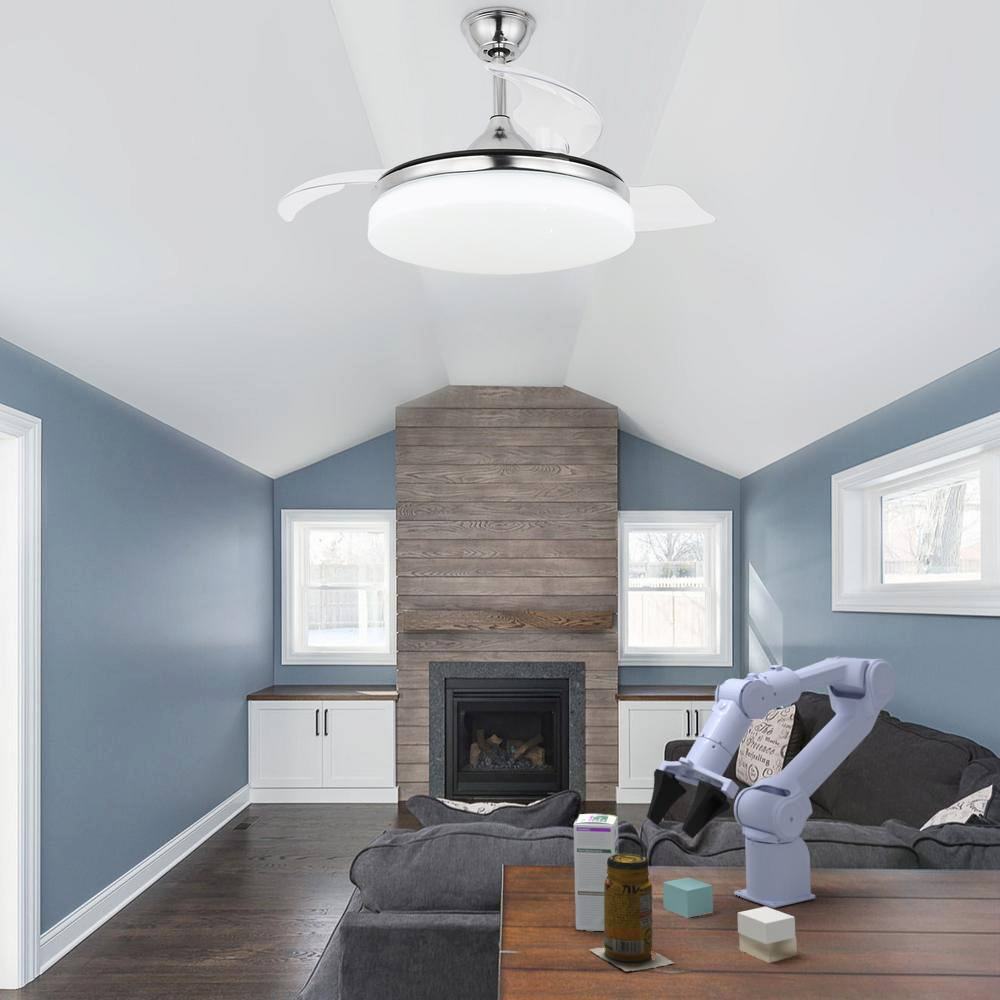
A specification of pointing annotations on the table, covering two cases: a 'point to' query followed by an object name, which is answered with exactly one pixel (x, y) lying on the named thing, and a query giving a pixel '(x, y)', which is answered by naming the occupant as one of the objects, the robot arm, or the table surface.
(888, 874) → the table surface
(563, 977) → the table surface
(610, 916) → the condiment
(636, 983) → the table surface
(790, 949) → the maple brick
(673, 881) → the teal brick
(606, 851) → the syrup box
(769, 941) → the white brick
